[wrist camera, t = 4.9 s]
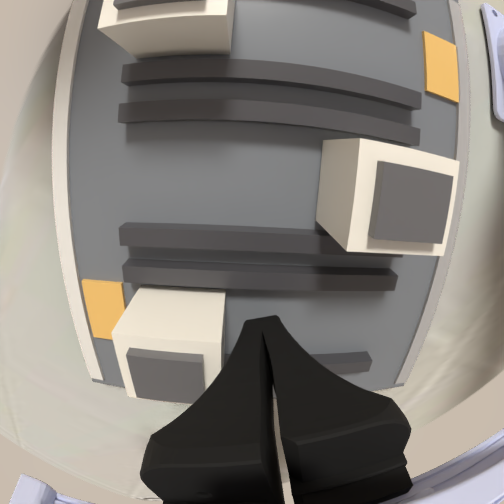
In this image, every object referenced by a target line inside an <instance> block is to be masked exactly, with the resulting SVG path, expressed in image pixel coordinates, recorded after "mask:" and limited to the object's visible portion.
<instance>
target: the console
mask: <svg viewBox="0 0 504 504" xmlns="http://www.w3.org/2000/svg"><path fill="white" fill-rule="evenodd" d="M103 2H104V0H73V2H72V5H71V9H70V12H69V16H68V20H67V24H66V29H65V33H64V38H63V43H62V48H61V53H60V59H59V65H58V72H57V79H56V88H55V97H54V109H53V125H52V186H53V202H54V214H55V224H56V233H57V240H58V248H59V254H60V261H61V266H62V272H63V277H64V283H65V288H66V292H67V297H68V301H69V306H70V310H71V314H72V318H73V322H74V325H75V329H76V333H77V336H78V340H79V343H80V346H81V350H82V353H83V356H84V359H85V362H86V365H87V368H88V371H89V374H90V377H91V378H92V380H93V382H97V383H102V384H108V385H113V386H119V387H125V385H124V381H123V378H122V374H121V370H120V367H119V363H118V359H117V355H116V351H115V347H114V343H113V338H112V334H111V332H112V331H113V329H114V327H115V326H116V324H117V322H118V321H119V319H120V318H121V316H122V314H123V313H124V311H125V310H126V308H127V306H128V305H129V303H130V302H131V300H132V298H133V297H134V295H135V294H136V292H137V291H138V289H139V288H140V286H141V285H153V286H169V287H186V288H205V289H226V293H225V350H224V365H225V363H226V361H227V359H228V358H229V356H230V354H231V352H232V350H233V348H234V346H235V344H236V342H237V340H238V338H239V335H240V333H241V330H242V327H243V324H244V322H245V321H246V320H249V319H255V318H261V317H266V316H272V315H277V316H279V318H280V320H281V322H282V323H283V325H284V326H285V328H286V329H287V331H288V332H289V333H290V334H291V336H292V337H293V338H294V339H295V340H296V341H297V342H298V343H299V345H300V346H301V347H302V348H303V349H304V350H305V351H307V352H308V353H309V354H310V355H311V356H312V357H313V358H314V359H315V360H317V361H318V362H319V363H320V364H322V365H323V366H324V367H326V368H327V369H329V370H330V371H332V372H333V373H335V374H336V375H338V376H340V377H341V378H343V379H345V380H347V381H349V382H350V383H352V384H354V385H356V386H358V387H361V388H363V389H365V390H368V391H374V390H381V389H387V388H394V387H399V386H404V383H405V382H407V380H408V377H409V375H410V373H411V371H412V369H413V367H414V364H415V362H416V360H417V357H418V355H419V353H420V350H421V348H422V345H423V343H424V341H425V338H426V335H427V333H428V330H429V328H430V325H431V322H432V319H433V317H434V314H435V311H436V308H437V305H438V302H439V299H440V296H441V293H442V289H443V286H444V283H445V279H446V276H447V272H448V269H449V265H450V261H451V257H452V253H453V249H454V245H455V240H456V236H457V231H458V226H459V221H460V216H461V210H462V204H463V198H464V191H465V184H466V175H467V166H468V155H469V141H470V76H469V63H468V52H467V44H466V36H465V29H464V23H463V17H462V12H461V7H460V4H459V3H458V0H235V8H234V19H233V29H232V41H231V52H230V55H228V54H197V55H173V56H160V57H149V58H140V59H136V58H135V57H134V56H132V55H131V54H130V53H129V52H127V51H126V50H125V49H124V48H122V47H121V46H120V45H118V44H117V43H116V42H114V41H113V40H112V39H111V38H109V37H108V36H107V35H105V34H104V33H103V32H101V31H100V30H98V29H97V28H98V23H99V18H100V14H101V10H102V6H103ZM351 138H362V139H368V140H373V141H378V142H383V143H388V144H393V145H398V146H402V147H407V148H411V149H415V150H419V151H423V152H427V153H431V154H435V155H438V156H442V157H446V158H449V159H453V160H456V161H459V162H460V163H459V173H458V181H457V189H456V196H455V202H454V208H453V214H452V220H451V225H450V230H449V235H448V239H447V244H446V248H445V252H444V256H431V255H411V254H390V253H370V252H348V251H346V250H345V249H344V248H343V247H342V246H341V245H340V244H339V243H338V242H337V241H336V240H335V239H334V238H333V237H332V236H331V235H330V234H329V233H328V232H327V231H326V230H325V229H324V228H323V227H322V226H321V225H320V224H319V223H318V222H317V221H316V220H315V219H316V210H317V201H318V191H319V181H320V170H321V158H322V145H323V140H334V139H351ZM273 398H276V394H275V391H274V387H273Z"/></svg>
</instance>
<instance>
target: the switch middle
mask: <svg viewBox="0 0 504 504" xmlns="http://www.w3.org/2000/svg"><path fill="white" fill-rule="evenodd" d="M459 163H460V162H459V161H456V160H453V159H449V158H446V157H442V156H438V155H435V154H431V153H427V152H423V151H419V150H415V149H411V148H407V147H402V146H398V145H393V144H388V143H383V142H378V141H373V140H368V139H362V138H351V139H334V140H323V145H322V158H321V170H320V181H319V191H318V201H317V210H316V219H315V220H316V221H317V222H318V223H319V224H320V225H321V226H322V227H323V228H324V229H325V230H326V231H327V232H328V233H329V234H330V235H331V236H332V237H333V238H334V239H335V240H336V241H337V242H338V243H339V244H340V245H341V246H342V247H343V248H344V249H345V250H346V251H348V252H370V253H390V254H411V255H431V256H444V252H445V248H446V244H447V239H448V235H449V230H450V225H451V220H452V214H453V208H454V202H455V196H456V189H457V181H458V173H459Z"/></svg>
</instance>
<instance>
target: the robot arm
mask: <svg viewBox="0 0 504 504" xmlns="http://www.w3.org/2000/svg"><path fill="white" fill-rule="evenodd" d="M481 10H482V14H483V19H484V24H485V29H486V35H487V41H488V48H489V55H490V64H491V75H492V90H493V112H494V115H495V117H496V118H497V119H498V120H500V121H502V122H504V15H502V14H501V13H500V12H498V11H497V10H496V9H494V8H493V7H492V6H490V5H489V4H487V3H483V4H481ZM273 387H274V391H275V394H276V399H277V407H278V416H279V425H280V435H281V441H282V445H283V450H284V454H285V459H286V463H287V468H288V472H289V478H290V484H291V492H292V496H293V499H294V504H499V503H500V502H502V501H503V500H504V428H503V429H502V430H500V431H499V432H497V433H496V434H494V435H493V436H491V437H490V438H488V439H487V440H485V441H484V442H482V443H480V444H479V445H477V446H475V447H474V448H472V449H470V450H469V451H467V452H465V453H463V454H462V455H460V456H458V457H456V458H454V459H452V460H450V461H448V462H446V463H444V464H442V465H440V466H438V467H437V468H434V469H432V470H430V471H428V472H426V473H423V474H421V475H419V476H417V477H414V478H412V479H410V476H409V474H408V471H407V469H406V467H405V466H406V464H407V460H406V458H405V456H404V454H403V451H404V449H405V446H406V444H407V442H408V439H409V437H410V433H411V427H410V425H409V422H408V420H407V418H406V417H405V415H404V414H403V412H402V411H401V410H400V408H399V407H398V406H397V404H396V403H395V402H394V401H393V399H392V398H389V397H386V396H383V395H380V394H377V393H374V392H371V391H368V390H365V389H363V388H361V387H358V386H356V385H354V384H352V383H350V382H349V381H347V380H345V379H343V378H341V377H340V376H338V375H336V374H335V373H333V372H332V371H330V370H329V369H327V368H326V367H324V366H323V365H322V364H320V363H319V362H318V361H317V360H315V359H314V358H313V357H312V356H311V355H310V354H309V353H308V352H307V351H305V350H304V349H303V348H302V347H301V346H300V345H299V343H298V342H297V341H296V340H295V339H294V338H293V337H292V336H291V334H290V333H289V332H288V331H287V329H286V328H285V326H284V325H283V323H282V322H281V320H280V318H279V316H277V315H272V316H266V317H261V318H255V319H249V320H246V321H245V322H244V324H243V327H242V330H241V333H240V335H239V338H238V340H237V342H236V344H235V346H234V348H233V350H232V352H231V354H230V356H229V358H228V359H227V361H226V363H225V365H224V366H223V368H222V369H221V371H220V372H219V374H218V375H217V377H216V378H215V379H214V381H213V382H212V383H211V385H210V386H209V387H208V388H207V389H206V391H205V392H204V393H203V394H202V395H201V396H200V397H199V398H198V399H197V400H196V401H195V402H194V403H193V404H192V405H191V406H190V407H189V408H188V409H187V410H186V411H185V412H183V413H182V414H181V415H180V416H179V417H177V418H176V419H175V420H173V421H172V422H171V423H169V424H168V425H166V426H165V427H163V428H162V429H160V430H159V431H157V432H156V433H154V434H152V435H151V437H150V440H149V442H148V445H147V447H146V450H145V454H144V458H143V462H142V466H141V471H140V477H141V480H142V481H143V482H144V483H145V485H146V486H147V487H148V488H149V489H150V490H152V491H153V492H154V493H155V494H156V495H157V496H158V497H159V498H161V499H162V500H163V504H285V501H284V495H283V488H282V481H281V474H280V467H279V460H278V453H277V446H276V439H275V431H274V410H273ZM9 504H94V503H90V502H86V501H82V500H79V499H75V498H72V497H68V496H66V495H62V494H59V493H57V492H56V491H55V490H54V489H53V488H52V487H50V486H49V485H48V484H46V483H44V482H43V481H41V480H38V479H36V478H33V477H31V476H28V475H25V474H21V476H20V478H19V481H18V483H17V485H16V488H15V490H14V492H13V495H12V497H11V500H10V503H9Z"/></svg>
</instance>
